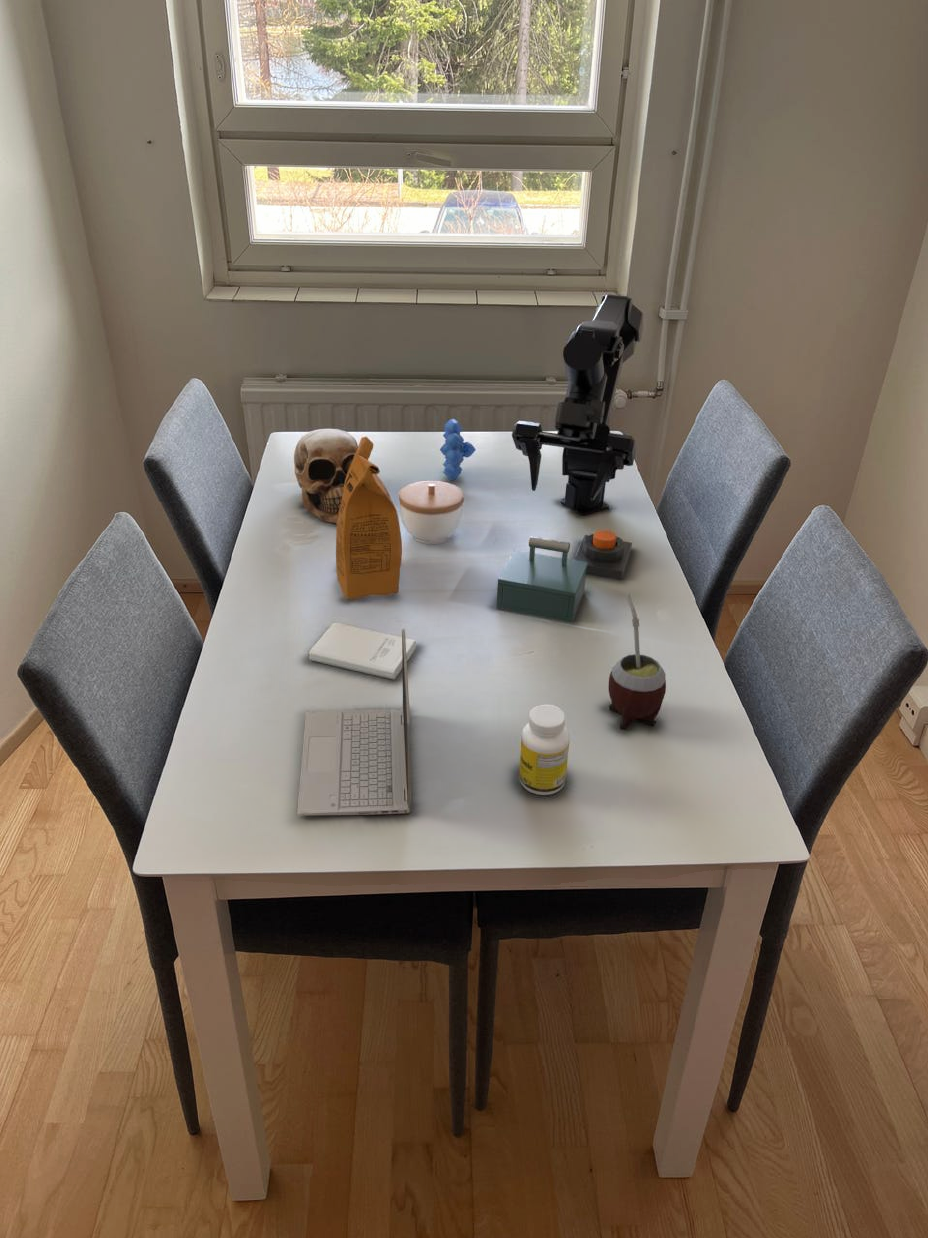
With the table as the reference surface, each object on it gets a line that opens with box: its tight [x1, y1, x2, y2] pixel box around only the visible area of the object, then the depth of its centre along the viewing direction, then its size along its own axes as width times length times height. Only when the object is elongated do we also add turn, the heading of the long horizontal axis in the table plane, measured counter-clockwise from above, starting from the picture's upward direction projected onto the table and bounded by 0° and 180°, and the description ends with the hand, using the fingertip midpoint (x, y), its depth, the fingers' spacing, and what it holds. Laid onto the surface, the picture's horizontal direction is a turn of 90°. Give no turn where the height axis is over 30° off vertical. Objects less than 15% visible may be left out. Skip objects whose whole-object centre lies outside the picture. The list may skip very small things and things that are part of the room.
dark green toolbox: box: [496, 571, 587, 623], centre depth 142 cm, size 9×12×4 cm
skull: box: [293, 428, 359, 525], centre depth 167 cm, size 16×17×13 cm
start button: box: [593, 529, 617, 549], centre depth 151 cm, size 4×4×2 cm
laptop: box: [296, 628, 412, 816], centre depth 108 cm, size 18×12×13 cm
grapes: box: [439, 418, 477, 481], centre depth 175 cm, size 12×7×12 cm, turn 3°
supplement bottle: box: [518, 704, 570, 796], centre depth 107 cm, size 5×5×10 cm
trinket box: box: [398, 480, 465, 545], centre depth 157 cm, size 11×11×9 cm
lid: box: [497, 536, 588, 597], centre depth 139 cm, size 9×12×4 cm
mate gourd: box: [608, 593, 667, 731], centre depth 116 cm, size 8×8×15 cm
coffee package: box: [335, 436, 403, 600], centre depth 140 cm, size 10×12×22 cm
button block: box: [573, 533, 633, 581], centre depth 152 cm, size 10×8×4 cm
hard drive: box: [308, 622, 417, 680], centre depth 129 cm, size 2×8×12 cm
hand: (562, 494), depth 144 cm, fingers open, 9 cm apart
